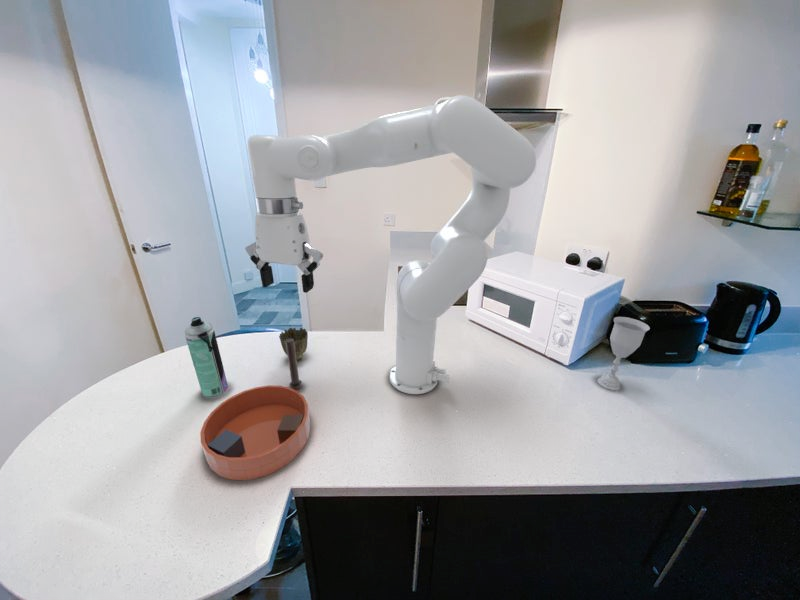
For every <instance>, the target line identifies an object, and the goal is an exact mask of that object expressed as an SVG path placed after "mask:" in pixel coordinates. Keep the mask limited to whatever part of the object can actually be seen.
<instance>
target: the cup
mask: <svg viewBox="0 0 800 600" xmlns="http://www.w3.org/2000/svg"><path fill="white" fill-rule="evenodd" d="M278 338H279V341H280V344H281V348H282V350H283V352H284V354H285V355H287V348H286V340H287V339H290V338H291V339H294V345H295V353H296V360H297V361H299V360H301V359H303V356H304V354H305V352H306V350H307V348H308V331H307V329H306V328H302V327H300V328H299V329H296V327H293V328H292V327H289V328H288V330H287V329H284V331H281V333H279V335H278Z"/></svg>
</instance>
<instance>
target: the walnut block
mask: <svg viewBox="0 0 800 600" xmlns="http://www.w3.org/2000/svg"><path fill="white" fill-rule="evenodd" d="M303 418H304V415H284V416H283V418H282V420H281V423H280V425H279V427H278V430H277V432H278V437H279V443H280V444H281V443H283V442H285V441H286V440H287V439H288V438H289V437H290V436H291V435H293V434H294V433H295V432H296V430H297V429H298V427H299V426H300V425H301V423H302V421H303Z"/></svg>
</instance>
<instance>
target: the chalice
mask: <svg viewBox="0 0 800 600" xmlns="http://www.w3.org/2000/svg"><path fill="white" fill-rule="evenodd" d="M613 322H614V324H613V326H612V327H613V328H612V330H611V333H610V337H609V341H610V347H611V351H612V354H613V355H614V356H615V359H614V360H613V361H612V363H613V364H612V366H610V367H609V368H610V372H609V373H608V372H607V373H603V374H602V375H601V376H600V377H599V378H597V383H598V384H599V385H600V386H602V387H603V388H604V389H607V390H610V391H618V390H620V389H621V386H620V384H621V383H620V380H619V379H620V378H619V377H618V376H616V373H617V372H618V371H619V365H621V360H622V359H626V358H628V357H629V356H630V355H632V354H633V353H634V352H635V351H637V349H638V348H640V346H641V344H642V342H643V340H644V337H645V335H646V333H647V332H648V331H650V329H651V328H650V326H649V325H648V324H647V323H645V322H643V321H641V320H638V319H635V318H631V317H627V316H615V317H613Z"/></svg>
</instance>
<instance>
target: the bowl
mask: <svg viewBox="0 0 800 600" xmlns="http://www.w3.org/2000/svg"><path fill="white" fill-rule="evenodd" d="M284 415H304V418H303V421H302V423H301V425H300V426H299V427H298V429H297V430H296V432H295V433H294V434H293V435H291V436H290V437H289V438H288V439H287V440H286V441H285V442H283V443H281V444H280V443H279V437H278V432H277V430H278V427H279V425H280V423H281V420H282V418H283V416H284ZM225 430H228V431H231V432H233V433H235V434H237V435H240V436H242V440H243V444H244V448H245V452H244V453H243V454H242V455H241V456H240V457H239V458H233V457H225V456H222V455H218V454H216V453H215V452H213V451H212V450H210V449H209V448H208V446H207V445H208V444H209V443H211V442H212V441H213V440H214V439H215V438H217V437H218V436H219V435H220V434H221V433H223V432H224V431H225ZM310 433H311V420H310V411H309V404H308V402H307V400H306V398H305V396H304V394H303V395H302V393H301V392H299V390H298V391H296V390H294V389H292V388H290V386H284V385H281V384H280V385H278V384H277V385H269V384H268V385H262V386H255V387H253V388H248V389H246V390H243V391H240V392H239V393H236V394H234V395H232V396H230V397H228V398H226V400H225V401H223V402H221V403H220V404H219V405H217V406H216V408H214V409H213V410H212V411H211V412H210V413H209V415H208V416H207V417H206V418H205V420H204V422H203V425H202V427H201V429H200V444H201V447H202V450H203V454H204V456H205V460H206V462H207V464H208V467H209V468H210V470H211V471H212V472H213V473H215V474H216V475H217V476H219V477H222V478H224V479H228V480H231V481H248V480H254V479H255V480H256V479H258V478H262V477H265V476H267V475H270V474H272V473H274V472H276V471H278V470H280V469H282V468H284V467H286V465H288V464H289V463H291V462H292V461H293V460H294V459H295V458H296V457H297V456H298V455H299V454H300V453H301V452H302V450H303V449H304V447H305V446H306V444H307V442H308V440H309V437H310Z"/></svg>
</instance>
